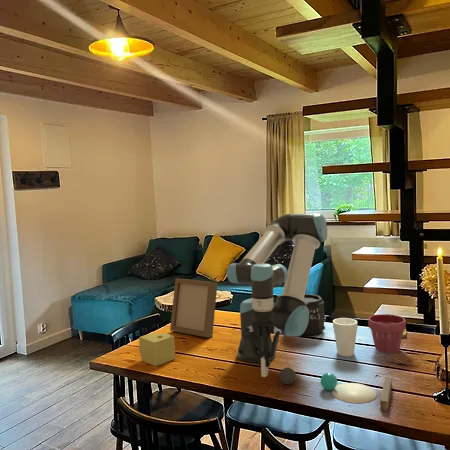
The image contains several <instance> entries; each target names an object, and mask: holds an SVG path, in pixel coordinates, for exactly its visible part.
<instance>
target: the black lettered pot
mask: <svg viewBox="0 0 450 450" xmlns="http://www.w3.org/2000/svg"><path fill="white" fill-rule="evenodd" d="M304 301H305V303H306V307H307V308H308V310H309V322H308V325H307V328H306V330H305V331H304V333H303V334H301V335H300V336H296V337H297V338H298V337H299V338H301V337H302V338H312V337H319V336H320V335H321V334H323V333H324V330H326V327H325V318H326V317H325V302H324V300H323V298H322V297H321V296H320V295H316V294H310V293H308V294H307V293H305V295H304Z"/></svg>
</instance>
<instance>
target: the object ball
mask: <svg viewBox="0 0 450 450" xmlns="http://www.w3.org/2000/svg"><path fill="white" fill-rule="evenodd" d="M320 385H321V387H322V388H323V389H324V390H327V391H332V390H333V389H335V388H336V386H337V385H338V379H337V377H336V375H335V373H332V372H325V373H324V374H322V375H321V378H320Z"/></svg>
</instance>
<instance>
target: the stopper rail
mask: <svg viewBox="0 0 450 450" xmlns="http://www.w3.org/2000/svg"><path fill="white" fill-rule="evenodd" d="M392 379H393V378H392V376H385V378H384V380H383V385H382V391H381V396H380V401H379V403H380V404H379V405H380V407H379V408H380V411H385V412H388V410H389V405H390V398H391V394H392V393H391V392H392V386H393V385H392V384H393V383H392V382H393V381H392Z"/></svg>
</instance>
